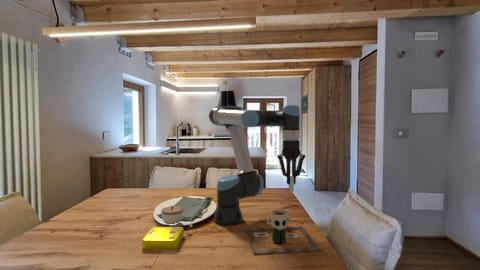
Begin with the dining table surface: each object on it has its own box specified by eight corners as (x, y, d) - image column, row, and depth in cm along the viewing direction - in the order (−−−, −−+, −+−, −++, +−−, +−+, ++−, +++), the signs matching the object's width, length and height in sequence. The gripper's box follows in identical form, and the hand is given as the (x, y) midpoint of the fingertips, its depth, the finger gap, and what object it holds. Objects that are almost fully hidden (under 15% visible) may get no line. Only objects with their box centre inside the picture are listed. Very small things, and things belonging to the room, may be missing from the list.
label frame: (253, 254, 110) (253, 253, 110) (245, 229, 135) (245, 228, 135) (321, 250, 113) (321, 249, 113) (301, 227, 138) (301, 225, 138)
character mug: (268, 245, 118) (268, 215, 118) (265, 238, 125) (265, 210, 125) (293, 244, 119) (293, 214, 119) (288, 237, 127) (288, 209, 126)
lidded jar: (187, 223, 144) (186, 205, 143) (169, 229, 136) (168, 210, 135) (175, 218, 151) (175, 201, 150) (157, 224, 143) (157, 206, 143)
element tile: (153, 235, 130) (152, 225, 130) (184, 235, 130) (184, 225, 130) (140, 250, 115) (140, 239, 115) (176, 250, 115) (176, 239, 115)
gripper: (279, 140, 121) (279, 194, 122) (308, 140, 122) (307, 192, 124) (275, 139, 128) (275, 189, 130) (302, 138, 130) (302, 188, 131)
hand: (291, 191), depth 127 cm, fingers closed
